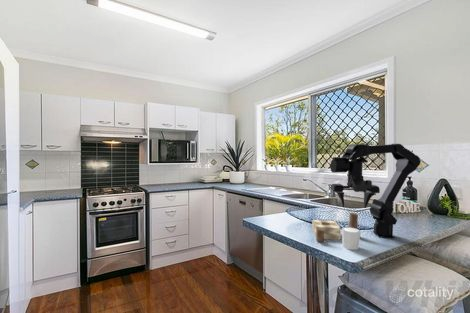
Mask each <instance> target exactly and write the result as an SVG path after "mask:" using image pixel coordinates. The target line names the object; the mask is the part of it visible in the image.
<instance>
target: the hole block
mask: <svg viewBox="0 0 470 313" xmlns="http://www.w3.org/2000/svg"><path fill="white" fill-rule="evenodd" d="M311 223H312V224H311V225H312V226H311V230H312V232H313V235H314V237H315V238H316V228H322V229H323V230H324V240H341V235H342V227H341V226H339V224H338V223H337V222H336V220H321V219H312V222H311Z"/></svg>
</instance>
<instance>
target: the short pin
mask: <svg viewBox="0 0 470 313" xmlns="http://www.w3.org/2000/svg"><path fill="white" fill-rule="evenodd" d="M315 240H316V243H324V242H325V239H324V230H323V229H322V228H316V237H315Z"/></svg>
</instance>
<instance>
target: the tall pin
mask: <svg viewBox="0 0 470 313" xmlns="http://www.w3.org/2000/svg"><path fill="white" fill-rule="evenodd" d="M358 219H359V214H358V213H357V212H349V218H348V221H349V223H348V227H352V228H356V229H358V223H359V222H358Z"/></svg>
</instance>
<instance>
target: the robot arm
mask: <svg viewBox="0 0 470 313" xmlns="http://www.w3.org/2000/svg"><path fill="white" fill-rule="evenodd" d="M389 153H390V154H391V155H392V157H393V158H394V160H395V161H396V162H395V171H394V174H393V175H392V177H391V179H390V180H389V182H388V184H387V186H386V188H385V190H384V191H383V193H382V195H381V197H380V198H378V199H376V198H374V199H373V200H372V203H371V204H370V205H369V212H370V214H371V216H372V219H373V220H374V223H373V231H372V232H373V233H374V235H376V236H377V237H379V238H388V239H389V238H391V239H393V238H396V237H395V236H394V234H393V233H394V225H396V224H397V222H398V219H397V218H396V217H395V216H394V215H393V212H394V202H395V200H396V198H397V196H398V194H399V193H400V190H401V189H402V187H403V185H404V183H405V182H406V181H407V178H408V177H409V175H410V174H412V173H413V172H414V171H416V170H417V169H418V167H419V166H420V165H421V159H420V157H419V156H418V155H417V154H415V153H414V152H413V151H411V150H409V149H407V148H406V147H405V146H404V145H403V144H401V143H389V144H379V145H378V144H377V145H376V144H375V145H368V144H361V143H360V144H358V143H356V144H355V143H353V144H352V143H351V144H349V145H348V146H347V148H346V150H345V152H344V153H343V154H342V156H341V157H338V156H337V157H336V156H332V160H331V162H330V164H329V169H330V171H331V173H332V174H333V173H335V174H336V173H346V176H347V182H346V185H343V184H342V183H331V186H330V190H331V191H333V192H334V193H336V194H337V196H338V198H339V201H340V204H341V207H342V208H344V207H345V198H344V195H345V192H344V191H353V192H355V193H363V208H365V209H366V208H367V207H368V204H369V202H370V200H371V199H372V197H373V196H376V195H377V194H380V193H381V192H380V191H381V190H380V189H381V188H380V187H379V186H378V185H376V184H373V182H372V180H370V179H367V180H365V179H364V175H363V164H364V163H368V160H367V159H366V158H365V157H368V156H370V155H375V154H376V155H377V154H389Z"/></svg>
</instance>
